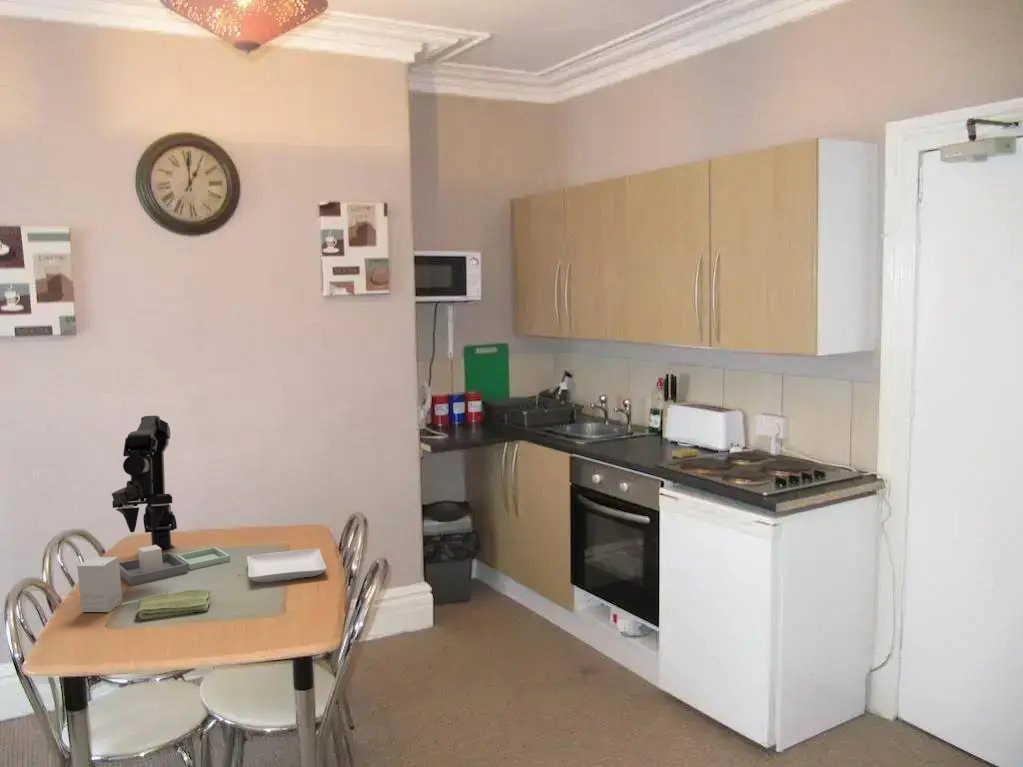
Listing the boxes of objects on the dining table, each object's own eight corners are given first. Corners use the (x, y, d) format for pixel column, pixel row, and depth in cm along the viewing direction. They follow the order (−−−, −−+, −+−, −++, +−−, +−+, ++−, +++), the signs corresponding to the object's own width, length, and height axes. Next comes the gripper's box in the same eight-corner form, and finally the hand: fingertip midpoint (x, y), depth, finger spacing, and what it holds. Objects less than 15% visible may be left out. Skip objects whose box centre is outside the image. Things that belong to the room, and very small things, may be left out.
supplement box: (123, 602, 225) (120, 556, 223) (107, 613, 218) (103, 565, 216) (97, 602, 226) (93, 556, 224) (80, 613, 218) (76, 565, 217)
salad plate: (319, 557, 260) (319, 546, 260) (327, 579, 240) (327, 567, 240) (247, 566, 254) (246, 554, 254) (248, 589, 234) (248, 577, 233)
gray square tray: (115, 573, 249) (114, 563, 248) (170, 561, 258) (169, 552, 258) (131, 587, 237) (130, 576, 236) (188, 574, 246) (187, 564, 246)
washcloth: (210, 613, 217) (209, 601, 217) (134, 624, 211) (133, 611, 211) (210, 596, 229) (209, 585, 229) (138, 606, 224) (138, 594, 223)
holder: (176, 562, 258) (176, 555, 258) (215, 553, 265) (215, 546, 265) (190, 571, 249) (189, 564, 248) (230, 562, 256) (230, 555, 256)
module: (139, 571, 248) (138, 548, 247) (157, 567, 251) (156, 544, 250) (145, 576, 244) (143, 552, 243) (163, 572, 247) (161, 548, 246)
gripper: (95, 479, 242) (96, 535, 241) (139, 475, 234) (140, 532, 232) (129, 478, 252) (130, 531, 250) (172, 473, 243) (174, 529, 242)
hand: (143, 531), depth 243 cm, fingers open, 9 cm apart
